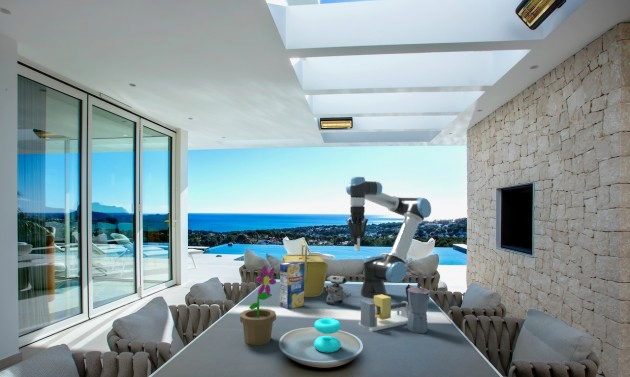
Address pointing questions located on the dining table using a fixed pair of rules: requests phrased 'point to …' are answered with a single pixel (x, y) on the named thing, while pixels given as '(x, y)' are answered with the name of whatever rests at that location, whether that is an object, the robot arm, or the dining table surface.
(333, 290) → the figurine
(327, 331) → the donuts
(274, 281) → the flowerpot
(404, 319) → the linear slide rail
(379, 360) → the dining table surface
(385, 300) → the yellow block on rod
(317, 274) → the picnic basket
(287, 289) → the beverage box
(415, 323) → the moka pot
